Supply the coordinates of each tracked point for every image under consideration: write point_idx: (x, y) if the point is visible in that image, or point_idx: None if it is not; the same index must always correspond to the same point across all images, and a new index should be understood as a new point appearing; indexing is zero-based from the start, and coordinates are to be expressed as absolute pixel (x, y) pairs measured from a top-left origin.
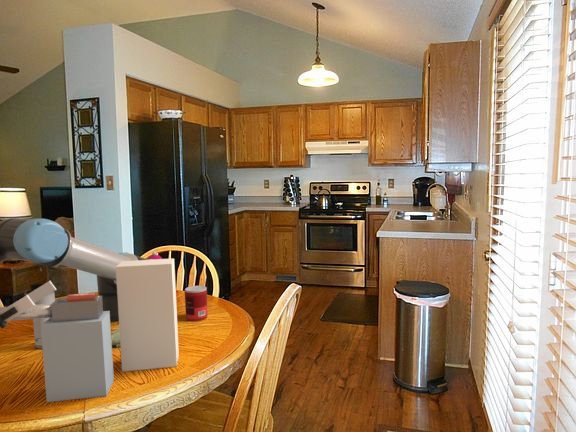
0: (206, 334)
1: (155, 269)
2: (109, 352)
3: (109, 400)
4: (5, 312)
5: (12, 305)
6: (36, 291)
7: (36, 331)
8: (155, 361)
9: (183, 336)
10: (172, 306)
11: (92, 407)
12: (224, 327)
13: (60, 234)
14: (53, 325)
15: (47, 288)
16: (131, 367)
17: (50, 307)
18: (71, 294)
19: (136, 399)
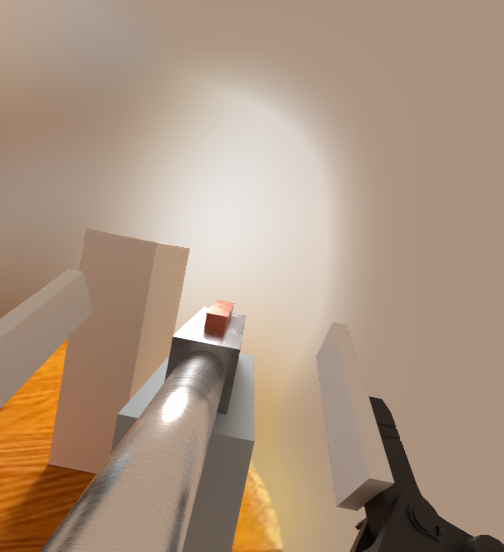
0: (62, 363)
1: (180, 255)
2: None
3: (242, 501)
4: (400, 441)
5: (362, 392)
6: (21, 335)
7: None
8: None
9: (31, 380)
10: (176, 315)
11: (264, 534)
12: (59, 348)
13: None
14: (253, 415)
15: (70, 308)
16: None
17: (220, 367)
18: (211, 311)
19: (250, 462)
